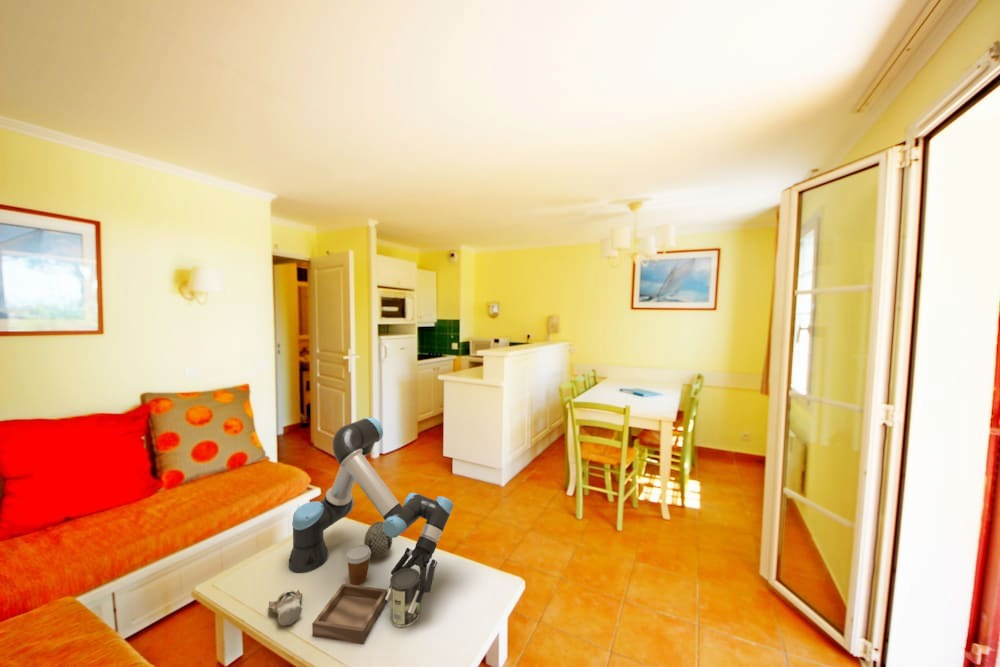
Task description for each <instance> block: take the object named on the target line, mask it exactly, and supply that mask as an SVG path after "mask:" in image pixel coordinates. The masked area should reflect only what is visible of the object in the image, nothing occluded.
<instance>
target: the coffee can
mask: <svg viewBox="0 0 1000 667" xmlns="http://www.w3.org/2000/svg"><path fill="white" fill-rule="evenodd" d="M389 583H390V584H391V601H390V623H391V624H392V625H394V626H395V627H398V628H406V627H410V626H412V625H413V624H415V623H416V622H417V621H418V619H419V616H420V614H421V613H420V612H421V611H420V603H418V604H417V606H416V609H415V611H414V614H412V613H409V612H408V610H409V608H410V606H411V603H412V601H413V599H414V596H415V594H416V592H417V590H418V591H419V589H420V571H419V570H417V569H415V568H413V567H411V568H404V569H401V570H398V571H397V572H395V573H394V574H393V575H392V574H391V577H390V579H389ZM390 584H389V585H390Z"/></svg>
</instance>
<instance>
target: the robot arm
mask: <svg viewBox="0 0 1000 667" xmlns="http://www.w3.org/2000/svg"><path fill="white" fill-rule="evenodd" d="M383 436H384V430H383V427H382V424H381V422H380V421H379V420H378V419H376V418H374V417H366V418H365V417H364V418H362V419H359V420H357V421H355V422H352V423H349V424H346V425H343V426H342V427H340V428H339V429H338V430H337V431H336V432H335V434H334V436H333V438H332V439H333V440H332V452H333V454H334V457H335V459H336V462H338V464H339V469H338V471H337V474H336V476H335V479H334V481H333V484H332V487H330V488H328V489H327V491H326V493H325V495H324V497H323V499H322V500H321V501H316V500H315V501H314V500H313V501H310V502H306V503H304V504H302V505H300V506H299V507H298V508H296V510H295V511H294V513H293V515H292V525H291V527H292V549H291V551H290V554H289V559H288V569H289V570H290V571H291V572H294V573H301V574H302V573H307V572H311V571H313V570H316V569H318V568H319V567H321V566H323V565H324V563H325V562H326V561H327V560H328V558H329V550H328V549H329V548H328V547H327V545H326V542H325V540H324V531H325V530H326V529H327V528H329V527H331V526H332V525H334V524H335V523H337V522H338V521H340V520H341V519H343V518H345V517H347V515H348V514H350V512H352V510H353V508H354V505H355V504H354V503H355V501H354V496H353V493H352V490H353V487H354V485H355V483H357V485H358V486H359V487H360V489H362V491H363V493H364V494H365V495H366V497H367V498H368V500H370V502H371V503H372V505H373V507H375V509H376V510H377V512H378V513H379V514H380V515H381V517H382V518H383V520H384V521H383V522H384V523H383V529H384V532H385V534H386V535H387V536H388V537H390V538H392V539H395V538H398V537H399V536H400V535H402V534H403V533H404V532H406V531H407V530H408V529H409V528H410V527H411V526H412V525H413V524H414V523H415V522H417V521H418V520H419V519H420V518H421V519H424V520H426V521H425V524H424V525H423V528H422V530H421V532H420V536H419V537H418V538H417V541H416V543H415V547H414V549H411V548H409V547H407V548H405V551H404V553H403V555H402V556H401V557H400V559H399V561H398V562H397V563H396V564H395V566H393V568H392V570H391V571H390V574H391V576H392V575H393V574H394V573H395V572H397V571H398V570H401V569H404V568H413V567H414V566H417V567H419V574H420V589H419V591H418V590H417V592H416V594H415V596H414V599H413V601H412V603H411V606H410V608H409V610H408V612H409V613H412V614H414V611H415V609H416V606H417V604H418V603H419V604H420V603H421V601H422V599H423V597H424V595H425V594H426V593H429V594H430V593H431V590H432V586H433V581H434V575H435V569H436V567H437V565H438V561H437V560H435V559H433V558H432V557H433V554H434V553H435V551H436V549H437V547H438V544H437V543H439V541H440V539H441V537H442V534H443V532H444V530H445V528H446V525H447V523H448V520H449V518H450V517H451V514H452V511H453V507H454V503H453V501H452V500H451V499H449V498H447V497H445V496H441V495H438V496H437V498H435V499H432V498H430V497H427V496H425V495H423V494H420V493H415V492H410V493H408V495H407V496H406V498H405V499H404V501H403V505H402V504H401V503H400V502H399V501H398V499H397V498H396V497H395V495H394V494H393V492H392V491H391V490H390V488H388V487H389V486H387V485H386V484H385V482H384V481H383V479H382V478H381V476H379V474H378V473H377V471H376V470H375V468H374V467H373V466H372V464H371V463H370V462H369V461H368V459H367V458H366V456H368V455H369V454H371V453H372V450H373V448H374V446H375V444H376V443H378V442H379V441H380V440H382V438H383ZM386 600H387V602H391V584H389V590H388V594H387V596H386Z"/></svg>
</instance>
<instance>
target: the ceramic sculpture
mask: <svg viewBox="0 0 1000 667" xmlns="http://www.w3.org/2000/svg"><path fill="white" fill-rule="evenodd" d="M302 598H303V593H301V592H300V590H299V589H298V590H297V591H295V590H287V591H285V592H283V593H281V594H280V595H279V597H278V598H277V600H274V601H269V603H268V610H269V611H270V612H271V613H273V614H276V615H278V616H277V622H278V624H279V625H281V626H283V627H284V626H291V625H292V624H294V623H295V622H296V621H297V620H298V619H299V618H300V617H301V615H302V611H303V606H302V605H301V600H302Z"/></svg>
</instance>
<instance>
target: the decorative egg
mask: <svg viewBox="0 0 1000 667" xmlns="http://www.w3.org/2000/svg"><path fill="white" fill-rule="evenodd" d="M383 523H384V521H376V522H373V523H372V524H371V526H369V528H368V529H367V530H366V533H365V536H364V541H363V542H364V544H363V545H367V546H368V547H369V548H370V550H371V555H370V558H373V559H379V558H382V557H384V556H386V555H387V554H388V553H389V551H390V550H391V547H392V544H393V538H390V537H388V536H387V535H386V534H385V532H384V529H383Z"/></svg>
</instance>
